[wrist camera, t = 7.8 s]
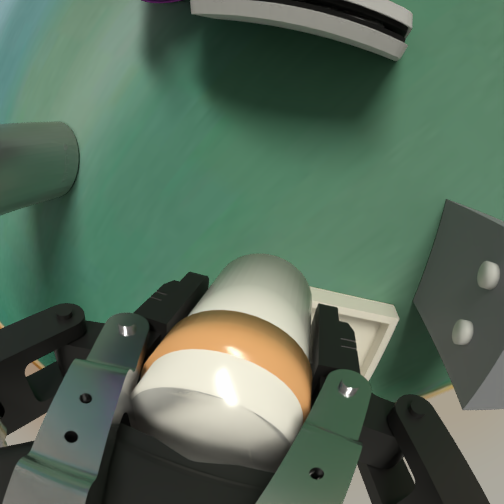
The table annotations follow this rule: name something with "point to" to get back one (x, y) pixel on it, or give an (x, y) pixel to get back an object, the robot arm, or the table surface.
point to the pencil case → (161, 1)
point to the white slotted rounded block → (323, 20)
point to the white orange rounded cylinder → (234, 369)
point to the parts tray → (362, 324)
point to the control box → (467, 304)
